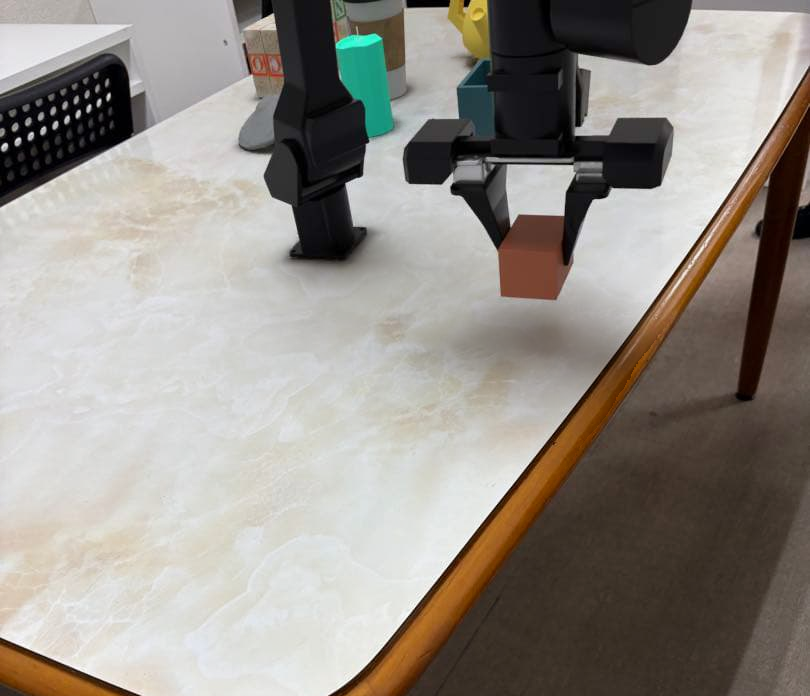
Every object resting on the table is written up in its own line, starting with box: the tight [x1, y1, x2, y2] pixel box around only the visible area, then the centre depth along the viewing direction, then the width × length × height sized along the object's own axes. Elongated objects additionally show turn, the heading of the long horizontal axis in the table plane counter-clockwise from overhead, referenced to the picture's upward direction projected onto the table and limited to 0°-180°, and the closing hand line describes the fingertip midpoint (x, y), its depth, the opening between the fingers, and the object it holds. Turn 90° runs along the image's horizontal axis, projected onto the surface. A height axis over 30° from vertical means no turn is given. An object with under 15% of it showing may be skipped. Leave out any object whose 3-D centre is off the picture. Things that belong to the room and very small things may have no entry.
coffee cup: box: [342, 0, 408, 100], centre depth 117 cm, size 8×8×15 cm
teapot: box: [447, 0, 490, 65], centre depth 123 cm, size 20×18×11 cm
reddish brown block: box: [497, 213, 575, 301], centre depth 68 cm, size 6×4×4 cm
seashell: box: [237, 92, 281, 151], centre depth 114 cm, size 12×6×10 cm
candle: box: [336, 27, 395, 138], centre depth 109 cm, size 6×6×12 cm
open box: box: [456, 59, 494, 136], centre depth 103 cm, size 7×11×10 cm
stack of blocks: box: [242, 0, 351, 99], centre depth 129 cm, size 21×6×12 cm, turn 152°
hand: (537, 261), depth 68 cm, fingers closed on reddish brown block, 4 cm apart
